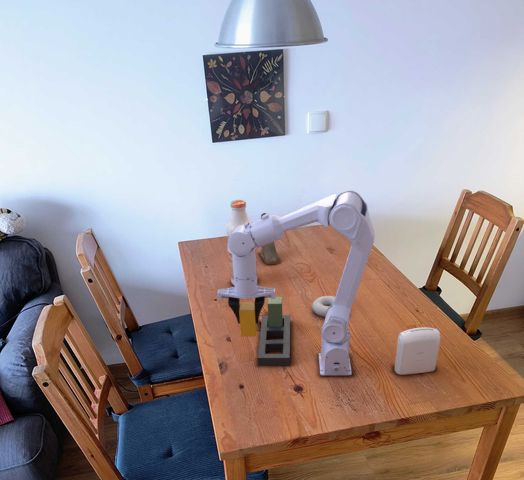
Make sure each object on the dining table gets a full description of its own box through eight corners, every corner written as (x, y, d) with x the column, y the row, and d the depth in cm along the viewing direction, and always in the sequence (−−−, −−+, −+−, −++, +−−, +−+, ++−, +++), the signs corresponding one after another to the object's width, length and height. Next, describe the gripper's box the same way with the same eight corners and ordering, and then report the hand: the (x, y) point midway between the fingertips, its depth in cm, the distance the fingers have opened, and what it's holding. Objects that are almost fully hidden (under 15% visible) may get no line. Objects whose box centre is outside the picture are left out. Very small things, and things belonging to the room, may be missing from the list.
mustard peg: (256, 336, 126) (254, 310, 122) (241, 336, 127) (238, 310, 122) (257, 328, 130) (255, 302, 125) (242, 328, 130) (240, 302, 125)
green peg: (282, 333, 140) (281, 303, 134) (268, 333, 140) (267, 303, 134) (282, 326, 143) (282, 296, 137) (269, 326, 144) (268, 296, 138)
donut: (310, 318, 146) (343, 320, 144) (310, 308, 144) (344, 310, 142) (314, 302, 154) (345, 303, 152) (314, 293, 152) (346, 294, 150)
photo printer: (397, 376, 121) (402, 336, 114) (391, 366, 125) (397, 326, 118) (436, 372, 122) (445, 332, 115) (430, 362, 125) (438, 322, 118)
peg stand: (289, 365, 127) (289, 357, 126) (258, 365, 128) (257, 357, 126) (290, 322, 145) (290, 315, 143) (262, 322, 145) (262, 315, 144)
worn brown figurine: (260, 259, 189) (254, 212, 181) (273, 257, 189) (269, 210, 182) (265, 265, 178) (260, 216, 171) (280, 263, 178) (275, 213, 171)
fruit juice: (241, 273, 174) (235, 195, 157) (262, 279, 169) (258, 199, 153) (225, 284, 167) (217, 204, 151) (247, 290, 163) (241, 208, 147)
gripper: (275, 267, 121) (276, 313, 129) (218, 268, 122) (223, 314, 130) (274, 280, 115) (275, 327, 123) (214, 280, 116) (219, 328, 124)
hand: (248, 321), depth 126 cm, fingers closed on mustard peg, 4 cm apart
